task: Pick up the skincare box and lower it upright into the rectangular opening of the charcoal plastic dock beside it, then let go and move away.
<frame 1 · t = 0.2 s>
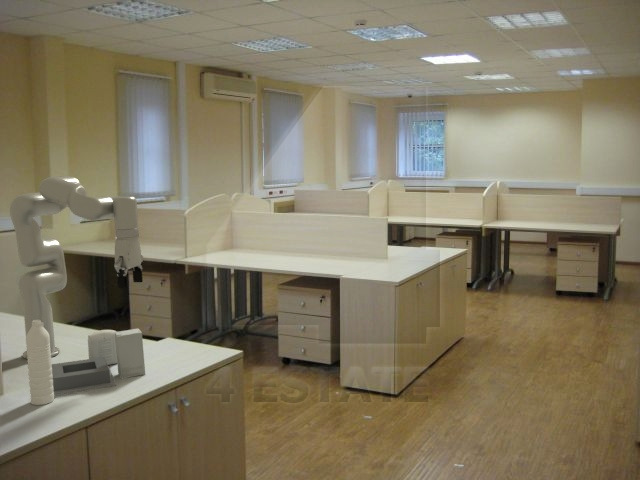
hand: (131, 284, 217), 30 cm above the table, tool pointing down, fingers open, 9 cm apart
skincare box: (131, 375, 218), on the table
water bottle: (43, 403, 195), on the table
photo printer: (104, 365, 229), on the table
dock: (80, 382, 212), on the table
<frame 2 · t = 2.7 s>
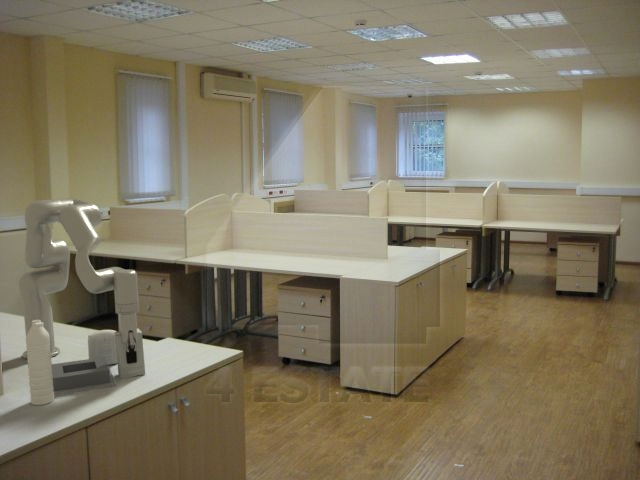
hand: (130, 359, 217), 5 cm above the table, tool pointing down, fingers closed on skincare box, 5 cm apart
skincare box: (131, 375, 218), on the table, touching gripper
everything else where it was.
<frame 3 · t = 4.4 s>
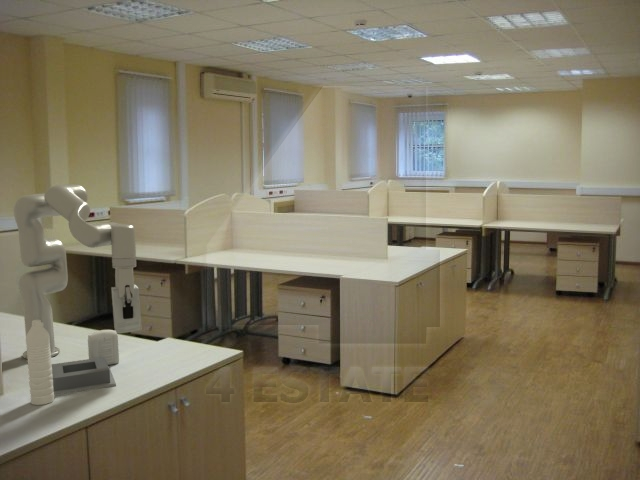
hand: (126, 315, 216), 20 cm above the table, tool pointing down, fingers closed on skincare box, 5 cm apart
skincare box: (127, 331, 216), point 15 cm above the table, touching gripper
everything else where it was.
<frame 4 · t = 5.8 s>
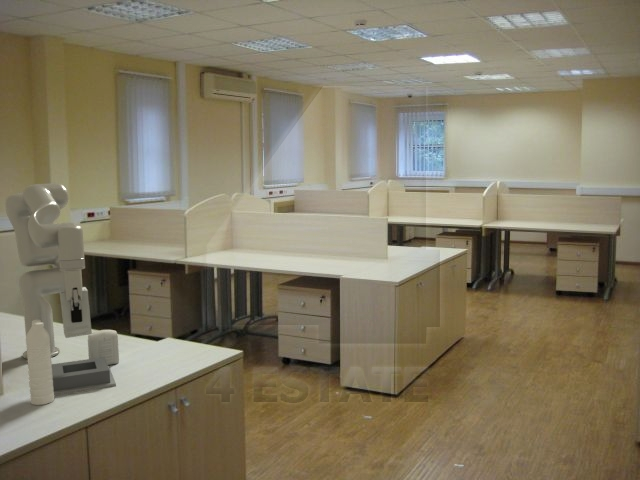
hand: (76, 319, 209), 21 cm above the table, tool pointing down, fingers closed on skincare box, 5 cm apart
skincare box: (77, 335, 210), point 16 cm above the table, touching gripper
everything else where it was.
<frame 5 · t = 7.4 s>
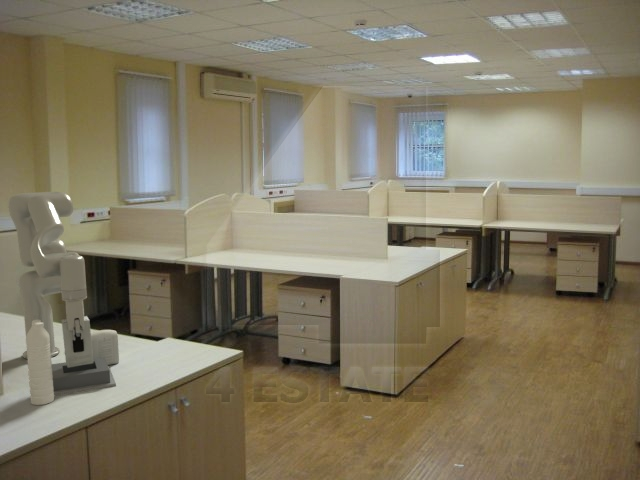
hand: (78, 348, 210), 11 cm above the table, tool pointing down, fingers closed on skincare box, 5 cm apart
skincare box: (79, 364, 211), point 6 cm above the table, touching gripper
everything else where it was.
when the fingers open (7 cm above the table, at t = 8.7 s): skincare box drops 1 cm, resting on dock.
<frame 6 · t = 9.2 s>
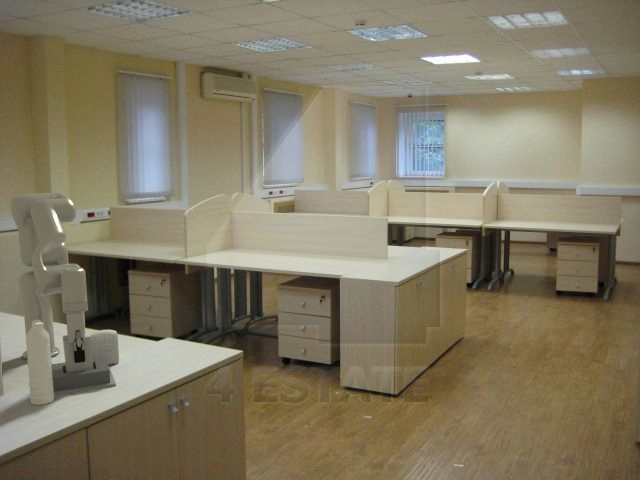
hand: (78, 357, 211), 8 cm above the table, tool pointing down, fingers open, 9 cm apart
skincare box: (80, 380, 212), point 1 cm above the table, touching dock
everything else where it was.
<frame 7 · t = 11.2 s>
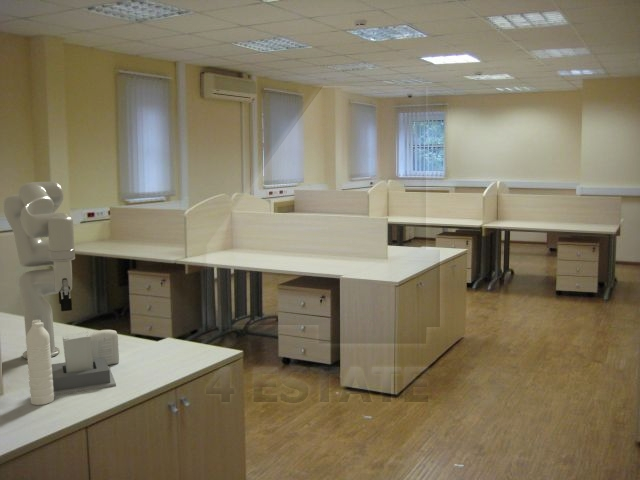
hand: (65, 306, 211), 25 cm above the table, tool pointing down, fingers open, 9 cm apart
nothing on the table moved.
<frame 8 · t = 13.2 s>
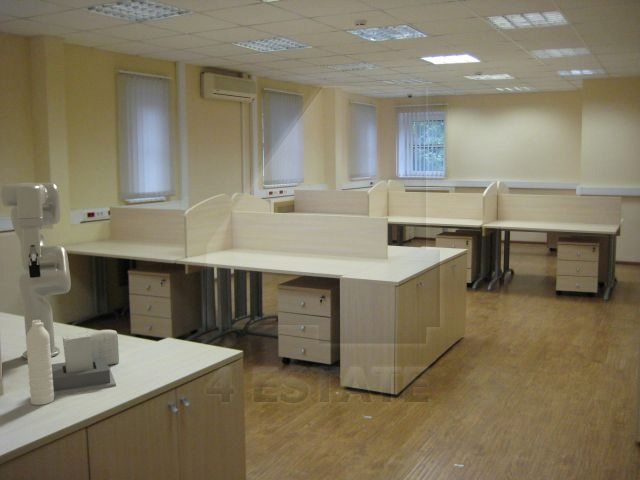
hand: (35, 274, 214), 34 cm above the table, tool pointing down, fingers open, 9 cm apart
nothing on the table moved.
at the end: skincare box 0.1 cm off-centre on the dock, point 0.6 cm above the dock's base; skincare box tilted 0°; the gripper is holding nothing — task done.
